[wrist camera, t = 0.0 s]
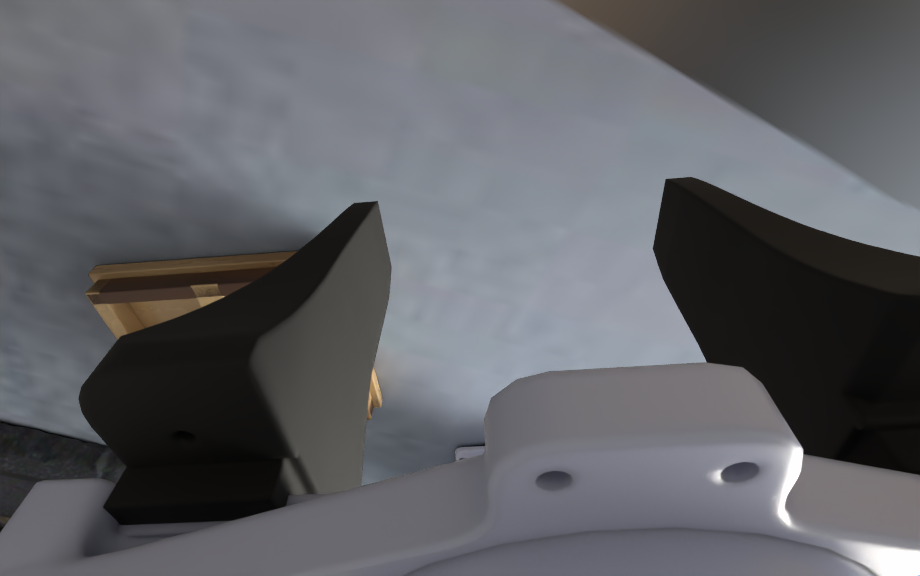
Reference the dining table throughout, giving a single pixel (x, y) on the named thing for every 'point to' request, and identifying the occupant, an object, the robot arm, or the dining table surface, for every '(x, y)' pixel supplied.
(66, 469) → the dark slate chunk
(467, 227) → the dining table surface
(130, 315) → the divided wooden tray
